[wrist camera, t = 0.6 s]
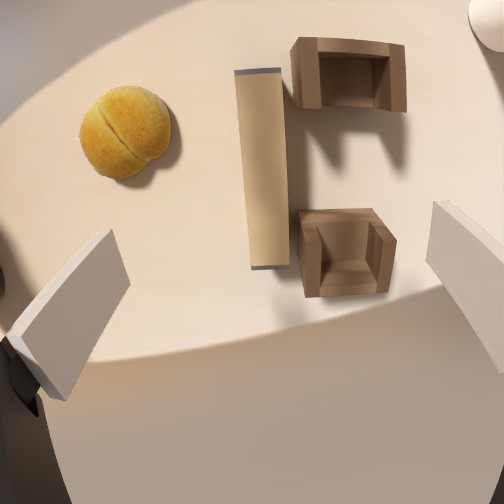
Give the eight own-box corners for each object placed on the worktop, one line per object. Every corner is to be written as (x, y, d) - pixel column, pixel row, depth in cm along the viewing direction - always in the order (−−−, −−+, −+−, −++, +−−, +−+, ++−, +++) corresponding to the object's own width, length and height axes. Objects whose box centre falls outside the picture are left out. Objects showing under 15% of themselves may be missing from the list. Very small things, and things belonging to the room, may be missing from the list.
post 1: (372, 54, 22) (404, 45, 16) (374, 106, 24) (406, 112, 18) (290, 50, 23) (298, 37, 16) (293, 104, 25) (303, 108, 19)
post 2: (298, 256, 32) (305, 297, 26) (297, 210, 30) (306, 244, 24) (367, 253, 32) (388, 292, 25) (371, 208, 29) (396, 240, 23)
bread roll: (189, 135, 27) (178, 142, 23) (120, 186, 29) (103, 199, 26) (142, 66, 24) (124, 64, 20) (77, 124, 26) (55, 130, 23)
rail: (253, 240, 32) (251, 270, 27) (240, 74, 24) (234, 70, 19) (286, 239, 31) (289, 268, 26) (277, 72, 24) (280, 67, 19)
